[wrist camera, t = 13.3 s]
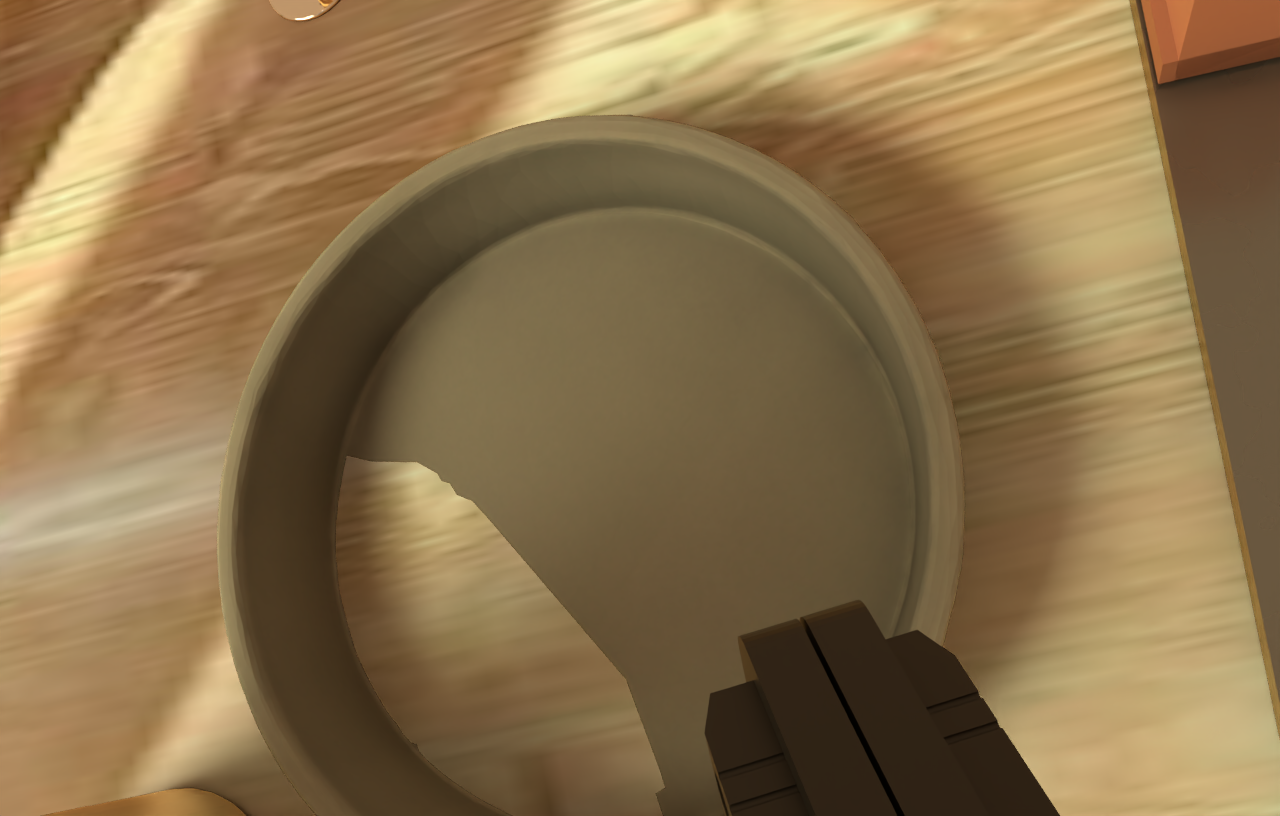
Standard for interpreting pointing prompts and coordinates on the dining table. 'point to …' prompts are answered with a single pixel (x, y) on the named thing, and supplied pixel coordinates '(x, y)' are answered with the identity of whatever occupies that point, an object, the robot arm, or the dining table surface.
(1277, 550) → the rail
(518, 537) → the cake pan
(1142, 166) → the dining table surface
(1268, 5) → the block
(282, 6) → the wineglass
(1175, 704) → the dining table surface
